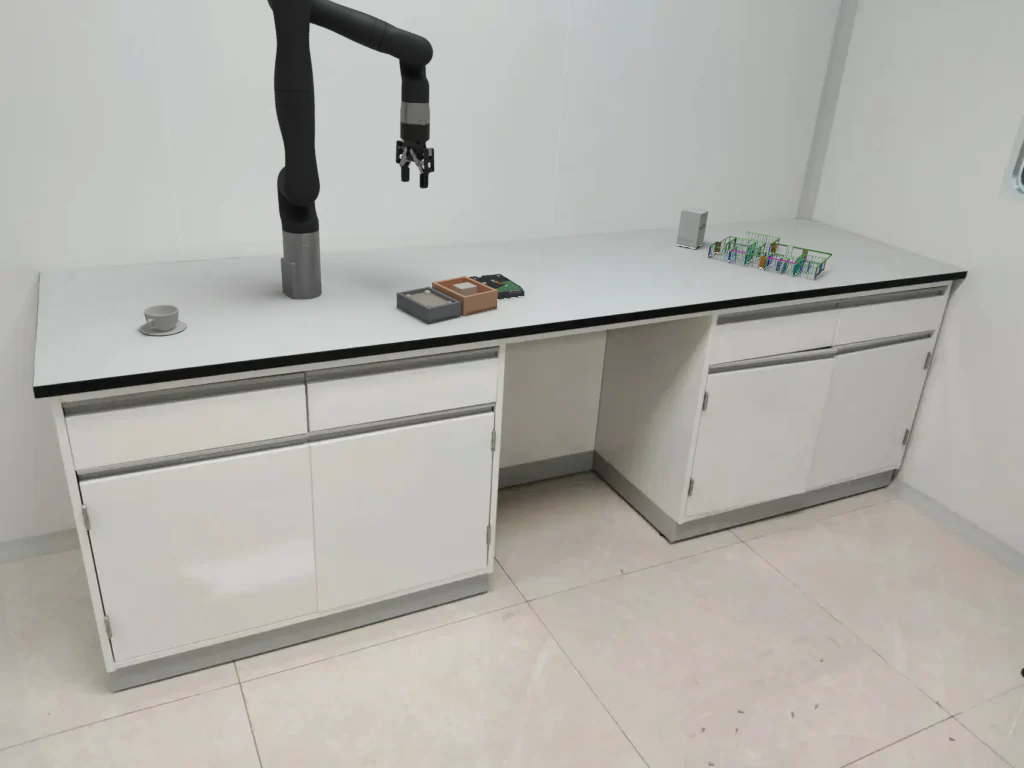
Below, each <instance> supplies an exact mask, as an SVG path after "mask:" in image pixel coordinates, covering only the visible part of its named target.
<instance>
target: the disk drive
mask: <svg viewBox="0 0 1024 768" xmlns="http://www.w3.org/2000/svg"><path fill="white" fill-rule="evenodd" d="M468 277H469V278H471V279H473V280H476V281H478V282H480V283H482V284H485V285H487V286H489V287H491V288H494V289H496V290H498V299H499V300H505V299H504V298H507V299H512V298H511V297H516V298H519V297H518V296H524V297H525V292H526V291H525V290H524V288H523V287H522V286H521V285H519V284H517V283H516V282H514V281H512V280H511V279H509V278H507V277H506V276H504V275H503V274H501V273H496V274H495V273H494V274H485V275H481V276H475V275H473V276H468Z"/></svg>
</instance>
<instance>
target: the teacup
mask: <svg viewBox="0 0 1024 768" xmlns="http://www.w3.org/2000/svg"><path fill="white" fill-rule="evenodd" d="M179 311H180V309H179V307H178V306H176V305H173V304H156V305H152V306H149V307H146V308H145V309H144V310H143V315H144V319H145V321H146V323H144V324H143V325H141V326H140V327H139V331H140V332H141V333H143V334H145V335H148V336H168V335H169V336H170V335H173V334H177V333H178V334H179V333H180V332H182V331H184V330H185V329H186V328H187V324H186V323H185V322H184V321H181V320H179V318H180V317H179V316H180V315H179V314H180V313H179Z"/></svg>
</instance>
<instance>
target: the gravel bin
mask: <svg viewBox="0 0 1024 768" xmlns="http://www.w3.org/2000/svg"><path fill="white" fill-rule="evenodd" d="M396 308H397V309H398V308H399V310H400V309H401V310H400V311H402V310H403V311H402V312H405V313H406V314H408V315H410V316H411V317H413V316H414V317H413V318H415V317H416V318H415V319H417V318H418V319H417V320H419V319H420V320H419V321H421V320H422V321H421V322H423V323H425V324H426V323H427V325H431V323H432V324H436V323H440V322H439V321H441V322H444V320H445V321H448V319H449V320H452V318H454V319H458V318H461V316H462V315H461V302H460V301H458V300H456V299H454V298H452V297H450V296H447V295H445V294H443V293H441V292H439V291H437V290H435V289H433V288H432V286H424V287H419V288H416V289H409V290H405V291H399V292H396ZM457 317H458V318H457ZM435 322H436V323H435Z"/></svg>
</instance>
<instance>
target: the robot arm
mask: <svg viewBox="0 0 1024 768" xmlns="http://www.w3.org/2000/svg"><path fill="white" fill-rule="evenodd" d="M266 2H267V3H268V6H269V8H270V9H271V11H272V15H273V21H274V22H273V23H274V28H275V29H274V30H275V36H276V51H275V59H274V60H275V61H274V72H273V90H274V91H273V92H274V93H273V94H274V108H275V113H276V118H277V123H278V128H279V131H280V134H281V137H282V138H281V139H282V142H283V147H284V148H283V149H284V166H283V167H282V168H281V169H280V171H279V173H278V175H277V181H276V190H277V201H278V202H277V203H278V212H279V213H278V214H279V217H280V218H279V219H280V222H281V236H282V248H283V250H282V251H283V257H280V268H281V269H280V271H281V273H280V274H281V287H282V288H281V289H282V294H284V295H285V296H287V297H289V298H290V299H292V300H296V299H304V300H305V299H313V298H317V297H319V296H321V295H322V287H323V286H322V285H323V284H322V270H321V267H322V266H321V265H322V264H321V245H320V244H321V241H320V239H321V238H320V223H319V222H320V221H319V217H318V213H317V210H316V209H317V208H316V201H317V199H318V197H319V195H320V193H321V192H320V191H321V181H320V175H319V169H318V163H317V155H316V103H315V102H316V101H315V99H316V98H315V83H314V71H313V63H312V57H311V55H312V54H311V47H310V30H311V28H310V26H311V24H312V25H314V26H315V25H316V26H319V27H321V28H323V29H326V30H328V31H331V32H334V33H336V34H338V35H339V36H341V37H344V38H345V39H348V40H349V41H351V42H354V43H357V44H358V45H361V46H363V47H365V48H367V49H370V50H373V51H376V52H378V53H382V54H385V55H389V56H391V57H394V58H395V59H398V63H399V71H400V78H401V91H400V93H401V97H400V98H401V99H400V101H401V102H400V109H399V110H400V111H399V112H400V113H399V114H400V115H399V119H400V120H399V123H400V125H399V135H400V136H399V137H400V140H399V139H398V140H396V143H395V145H396V146H395V163H396V164H398V165H399V167H400V173H401V174H400V181H401V182H402V183H408V182H410V180H411V178H410V176H411V175H410V174H411V173H410V171H411V169H410V165H411V164H412V162H413V163H414V164H415V166H416V167H417V168H418V170H419V188H420V189H423V190H424V189H428V187H429V176H430V174H431V173H435V148H434V147H427V142H428V141H429V140H430V136H431V134H430V133H431V108H430V83H429V80H428V78H427V67H426V66H427V65H428V64H429V63H431V61H432V59H433V56H434V49H433V46H432V43H431V42H430V40H428V39H427V38H426V37H424V36H421V35H419V34H417V33H414V32H411V31H408V30H405V29H402V28H399V27H397V26H396V25H393V24H391V23H389V22H387V21H385V20H382V19H381V18H378V17H376V16H373V15H371V14H369V13H367V12H363V11H360V10H357V9H354V8H352V7H348V6H345V5H342V4H340V3H337V2H335V1H333V0H267V1H266Z"/></svg>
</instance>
